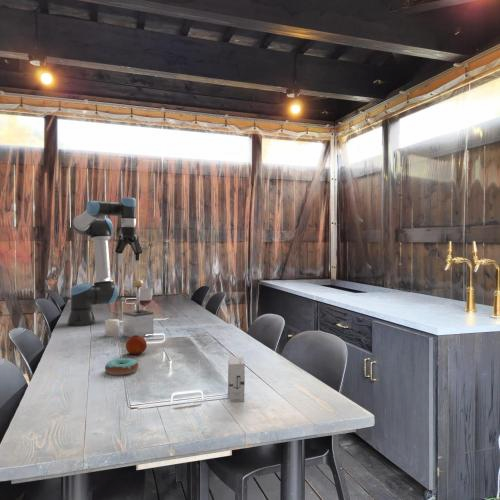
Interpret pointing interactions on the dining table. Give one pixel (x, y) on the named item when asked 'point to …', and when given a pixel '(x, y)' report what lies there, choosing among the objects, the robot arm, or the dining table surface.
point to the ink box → (236, 379)
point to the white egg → (111, 327)
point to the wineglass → (145, 296)
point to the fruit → (136, 345)
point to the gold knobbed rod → (138, 292)
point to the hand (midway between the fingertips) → (128, 266)
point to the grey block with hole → (137, 323)
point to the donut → (121, 366)
